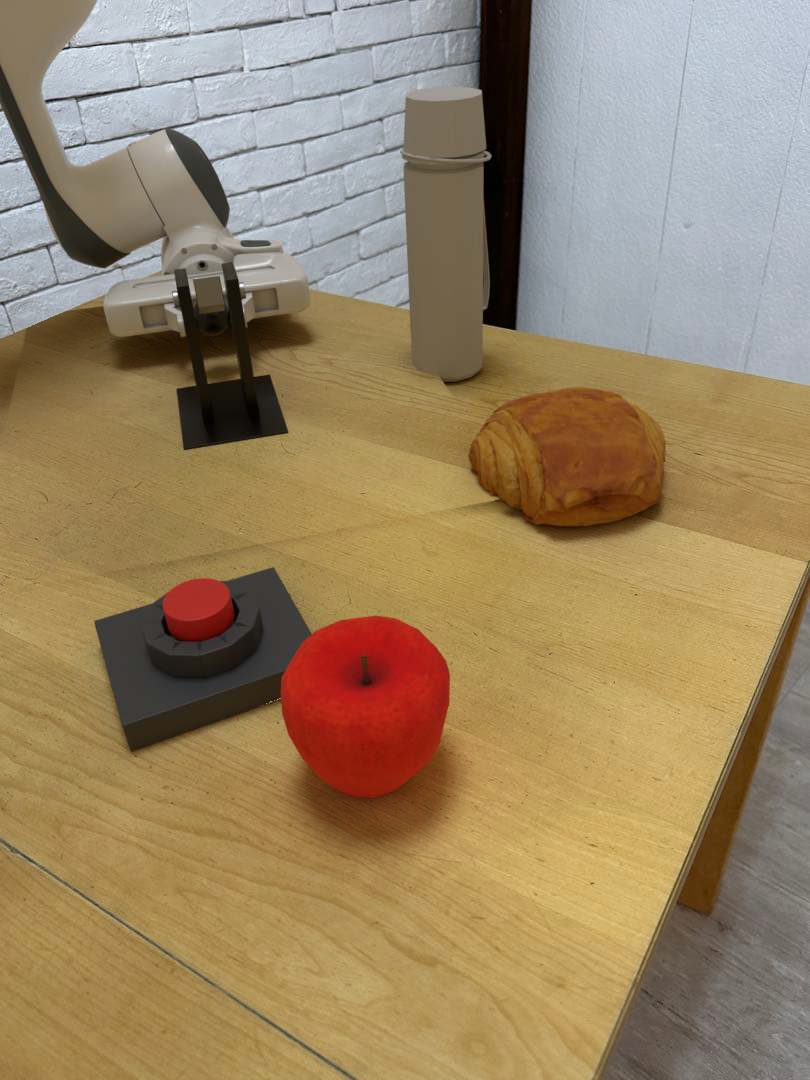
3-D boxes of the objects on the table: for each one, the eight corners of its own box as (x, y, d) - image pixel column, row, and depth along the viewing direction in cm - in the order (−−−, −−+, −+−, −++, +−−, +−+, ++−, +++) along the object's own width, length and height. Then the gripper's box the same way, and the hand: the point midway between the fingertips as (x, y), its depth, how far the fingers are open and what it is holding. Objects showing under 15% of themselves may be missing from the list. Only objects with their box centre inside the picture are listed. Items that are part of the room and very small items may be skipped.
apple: (473, 813, 47) (472, 707, 42) (304, 849, 46) (284, 743, 41) (432, 692, 54) (428, 590, 49) (285, 720, 53) (267, 618, 48)
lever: (196, 340, 88) (189, 303, 87) (233, 335, 88) (226, 298, 88) (191, 316, 75) (182, 272, 74) (234, 310, 75) (226, 266, 75)
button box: (130, 752, 51) (114, 702, 49) (102, 646, 59) (86, 598, 56) (329, 683, 55) (322, 634, 53) (277, 591, 62) (270, 544, 60)
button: (176, 651, 53) (170, 628, 52) (161, 611, 56) (155, 589, 55) (242, 630, 54) (238, 607, 53) (224, 592, 57) (220, 570, 56)
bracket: (178, 400, 87) (148, 258, 79) (271, 386, 89) (251, 245, 81) (186, 461, 78) (152, 306, 70) (290, 443, 79) (268, 291, 71)
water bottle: (448, 394, 86) (442, 106, 71) (394, 369, 90) (378, 95, 76) (515, 364, 90) (522, 87, 76) (460, 342, 95) (457, 79, 81)
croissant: (466, 469, 78) (452, 386, 74) (644, 431, 78) (640, 345, 73) (494, 565, 66) (479, 473, 62) (704, 522, 66) (704, 425, 61)
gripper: (97, 263, 93) (92, 307, 82) (294, 238, 97) (314, 277, 85) (112, 322, 97) (109, 372, 86) (301, 296, 100) (321, 340, 89)
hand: (213, 324), depth 85 cm, fingers closed on lever, 3 cm apart
